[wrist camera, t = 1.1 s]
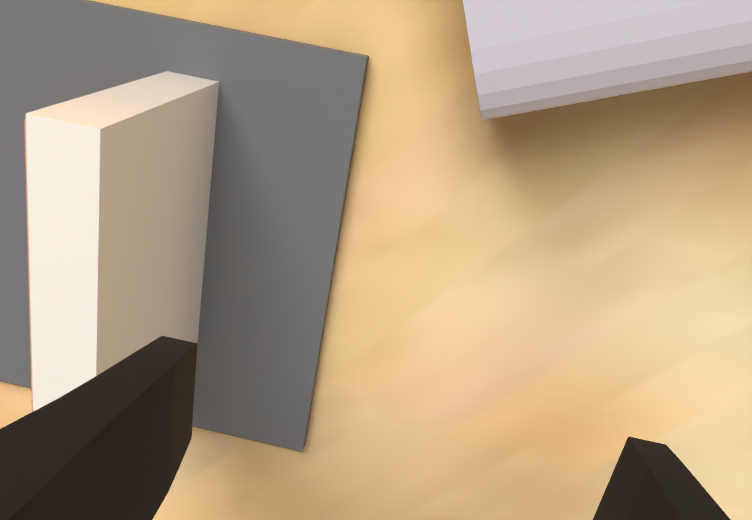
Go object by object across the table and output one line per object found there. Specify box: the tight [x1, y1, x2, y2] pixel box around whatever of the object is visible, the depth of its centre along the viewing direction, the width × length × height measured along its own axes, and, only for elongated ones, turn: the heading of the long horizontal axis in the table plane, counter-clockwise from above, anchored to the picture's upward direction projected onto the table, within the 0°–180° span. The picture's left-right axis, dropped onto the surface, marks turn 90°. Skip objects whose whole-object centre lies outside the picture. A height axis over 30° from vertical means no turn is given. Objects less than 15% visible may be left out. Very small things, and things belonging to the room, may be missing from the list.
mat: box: [0, 0, 369, 452], centre depth 23 cm, size 14×14×1 cm
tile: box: [24, 71, 219, 412], centre depth 19 cm, size 9×2×7 cm, turn 170°
